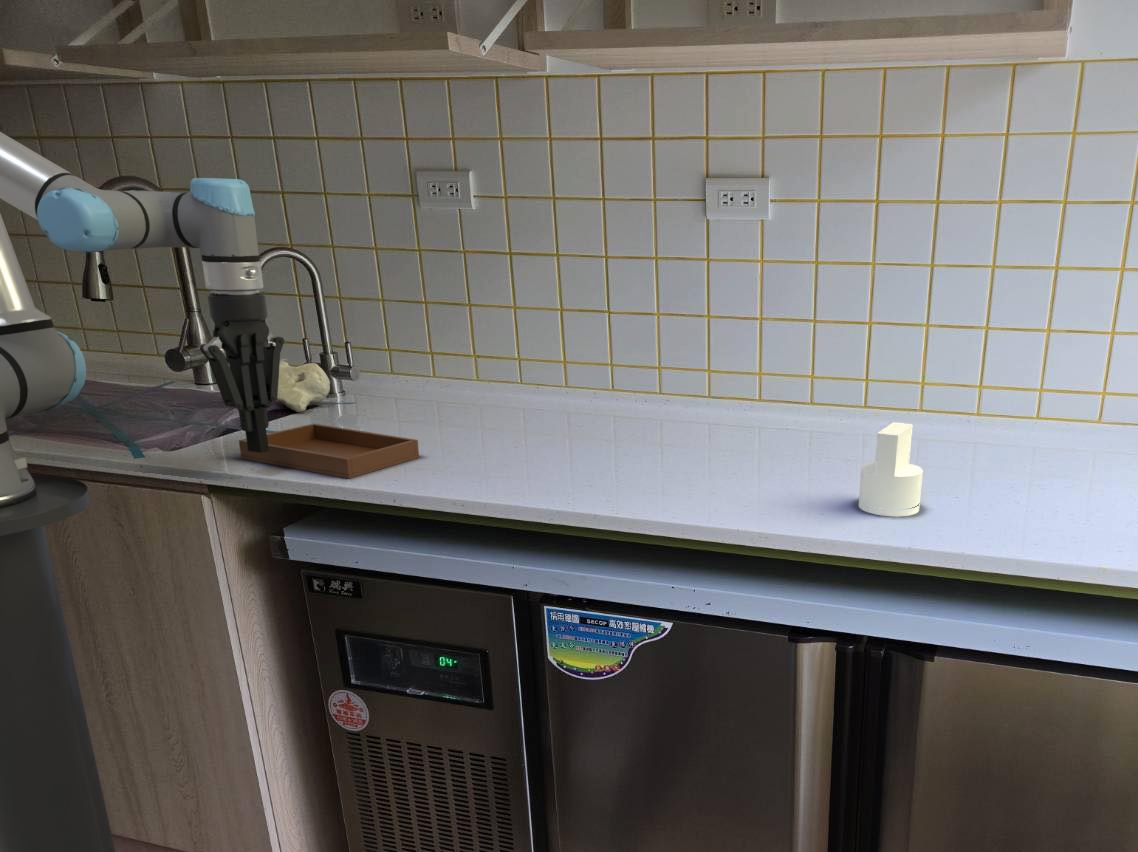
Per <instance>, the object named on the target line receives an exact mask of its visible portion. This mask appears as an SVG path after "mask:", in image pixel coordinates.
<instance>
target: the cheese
mask: <svg viewBox="0 0 1138 852" xmlns="http://www.w3.org/2000/svg"><path fill="white" fill-rule="evenodd" d="M287 360H288V359H287V358H283V359H280V365H279V380H278V396H277V400H276V401H278V402H280V403H281V404H283V405H285V406H286V407H287V408H288V409H290V410H292V411H294V412H297V413H301V412H305V411H306V410H307V407H309V406H317V405H321V404H323V403H324V400H325V399H326V397H327V396H328V395H329V393H330V390H331V381H330V379H329V377H328V375H327V374H326V372H325V371H324V369H323V368H321V367H320V365H318V364H317V363H315V362H313V363H312V362H309V363H305V364H301V365H299V366H291V365H289V363H288V362H287Z"/></svg>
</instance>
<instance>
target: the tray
mask: <svg viewBox="0 0 1138 852" xmlns="http://www.w3.org/2000/svg"><path fill="white" fill-rule="evenodd" d="M267 440H268V447H269V451H267V452H263V453H258V452H253V451H248V445H247V439H246V438H243V439H239V440H238V445H239V451H240V458H241V460H246V461H252V462H256V463H257V462H258V463H262V464H267V465H274V466H279V467H285V468H289V469H296V470H300V471H306V472H312V473H316V474H322V475H327V476H332V477H333V476H334V477H338V478H343V479H352V478H355V477H360V476H363V475H365V474H369V473H373V472H376V471H378V470H383V469H386V468H390V467H392V466H396V465H399V464H403V463H406V462H409V461H413V460H416V459H419V458H420V454H419V453H420V450H419V440H418V439H414V438H408V437H402V436H395V435H389V434H383V433H376V432H370V431H363V430H358V429H352V428H344V427H338V426H332V425H328V424H327V425H326V424H320V423H310V424H306V425H301V426H296V427H291V428H287V429H283V430H279V431H275V432H269V433H267Z"/></svg>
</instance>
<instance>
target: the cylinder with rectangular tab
mask: <svg viewBox="0 0 1138 852" xmlns="http://www.w3.org/2000/svg"><path fill="white" fill-rule="evenodd" d="M913 427H914V425H913V424H912V423H907V422H896V421H895V422H894V421H893V422H891V423H890V424H889V425H886V426H885V427H884V428H883V429H881V430H880V431H878V432H877V436H876V449H875V460H874V461H869V462H865V463H862V465H861V467H860V481H859V492H858V493H859V495H858V508H859V509H860V510H861V511H864V512H865V513H869V514H872V515H877V516H882V517H897V518H898V517H907V516H913V515H916V514H918V513H919V511H920V504H921V495H922V494H921V493H922V484H923V475H924V474H923V473H924V470H923V469H922V468H921V467H920V466H918V465H915V464H912V463H910V458H911V448H912V438H913ZM919 503H920V504H919ZM918 504H919V506H917V505H918ZM867 505H868V506H867ZM870 506H871V507H870ZM915 506H917V507H915ZM874 507H876V508H874ZM912 507H915V508H912ZM879 508H883V509H879ZM906 508H912V509H906ZM887 509H906V510H887Z"/></svg>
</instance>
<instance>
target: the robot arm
mask: <svg viewBox="0 0 1138 852" xmlns="http://www.w3.org/2000/svg"><path fill="white" fill-rule="evenodd" d="M0 200H1V201H4V202H6V203H7V204H9V205H11V206H12V207H14V208H16V209H18V210H19V211H21V212H22V213H24V214H26V215H28V216H30V217H31V218H33V219H35V220H36V221H38V224H39V227H40V229H41V231H42V232H43V233H44V234H45V235H46V236H47V238H48V240H49V241H50V242H51V243H52V244H54V245H56V246H57V247H59V248H61V249H64V250H67V251H74V252H83V253H98V252H102V251H116V250H135V249H137V250H138V249H154V248H156V249H157V248H192V249H199V252H200V255H201V263H202V271H203V278H204V279H203V280H204V285H205V289H206V290H208V291H210V293H209V294H208V295H207V302H208V303H207V304H208V309H209V316H210V318H211V320H212V321H213V324H214V327H213V330H212V331H213V332H212V336H213V338H212V339H211V340H210V341H209V342H208V343H202V344H200V345H199V350H200V352H201V353H202V355H203V356H204V357H205V358H206V359H207V361H208V364H209V366H210V369H211V371H212V375H213V377H214V380H215V382H216V385H217V388H218V390H219V393H220V396H221V399H222V401H223V404H224V405H225V407H228V408H233V409H236V410H237V412H238V416H239V422H240V428H241V430H242V431H243V432H245V439H247V445H248V451H253V452H258V453H263V452H267V451H269V447H268V440H267V434H268V433H267V429H268V428H269V425H270V423H269V418H268V417H269V416H268V409H271V407H272V405H273V403H272V402H276V401H278V400H277V396H278V380H279V365H280V361H281V352H282V350H283V347H284V344H285V339H284V337H282V336H276V335H274V334H273V333H272V332H270V328H269V326H268V324H267V322H266V319H267V318H268V317H269V316H268V315H269V314H268V307H267V299H266V295H265V294H264V293H263V292H261V291H260V290H263V289H264V288H265V287H264V279H263V271H262V264H261V259H260V253H259V246H258V245H259V243H258V236H257V228H256V219H255V218H256V217H255V215H256V211H255V209H254V204H253V199H252V195H251V190H250V186H249V185H248V183H247V182H246V181H244V180H242V179H240V178H221V177H220V178H219V177H217V178H216V177H194V178H192V179H191V180H190V189H189V191H186V192H175V191H158V190H157V191H155V190H154V191H153V190H143V189H141V190H137V189H132V190H116V189H114V190H112V189H111V190H110V189H109V190H108V189H100V188H98V187H96V186H94V185H92V184H90V183H88V182H87V181H85V180H83V179H81V178H80V177H77V176H76V175H74V174H73V173H71V172H70V171H68V170H66V169H65V168H64V167H61V166H60V165H58V164H56V163H54V162H53V161H51V160H49V159H48V158H46V157H44V156H42V155H41V154H39V153H37V152H35V151H34V150H32V149H30V148H28V147H27V146H25V145H24V144H22V143H20V142H19V141H17V140H16V139H14V138H12V137H9V136H8V135H7V134H5V133H3V132H2V131H0ZM34 303H35V302H34V301H33V298H32V295H31V292H30V290H29V288H28V284H27V281H26V279H25V277H24V274H23V271H22V268H21V265H20V263H19V260H18V257H17V254H16V252H15V248H14V245H13V243H12V241H11V238H10V235H9V233H8V230H7V227H6V225H5V221H4V219H3V217H2V214H1V212H0V509H1V508H5V507H9V506H13V505H16V504H19V503H22V502H25V501H27V500H29V499H31V498H33V497H34V496H35V495H36V488H35V483H34V480H33V479H32V477H31V475H32V474H30V473H29V471H28V469H27V468H28V463H27V458H26V457H22V458H20V456H19V455H18V454H17V452H16V451H15V449H14V448H13V446H12V444H11V439H10V436H9V435H10V434H9V431H8V427H7V423H6V420H8V419H13V418H17V417H21V416H24V415H30V414H33V413H37V412H44V411H50V410H53V409H56V408H58V407H60V406H62V405H65V404H68V403H70V402H71V401H73V400H74V399H76V398H77V397H78V395H79V394H80V392H81V390H82V389H83V387H84V385H85V383H86V380H87V379H86V378H87V363H86V359H85V356H84V354H83V352H82V350H81V348H80V347H79V345H78V344H77V343H76V341H74V340H71V339H70V337H69V336H68V335H66V334H65V333H62V332H60V331H57V330H56V328H55V325H54V322H53V319H52V317H51V316H50V315H48V314H47V313H44V312H43V311H41V310H40V309H38V308H37V307H36V306H35V304H34Z"/></svg>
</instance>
